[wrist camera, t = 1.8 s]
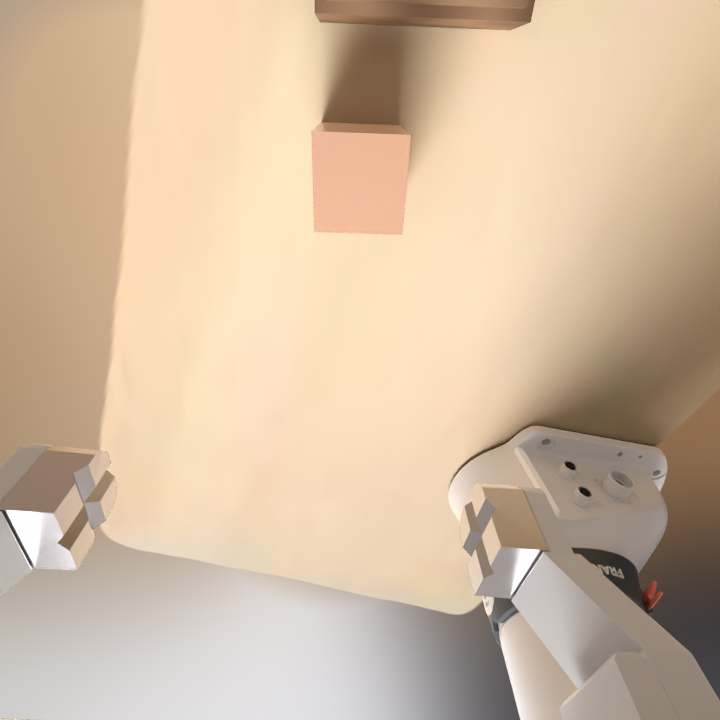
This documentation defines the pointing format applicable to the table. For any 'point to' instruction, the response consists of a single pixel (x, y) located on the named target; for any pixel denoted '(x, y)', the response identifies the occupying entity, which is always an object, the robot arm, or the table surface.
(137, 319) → the table surface
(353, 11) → the plinth
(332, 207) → the terracotta block
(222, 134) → the table surface
